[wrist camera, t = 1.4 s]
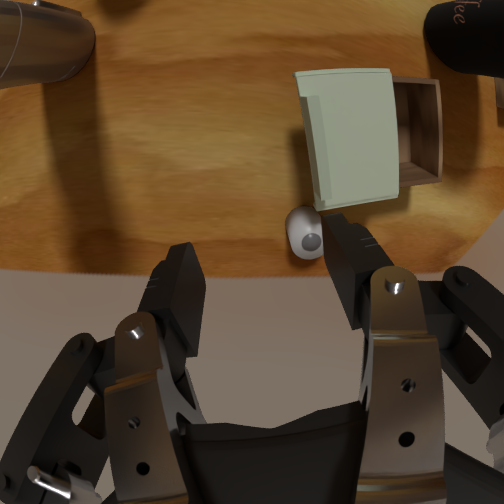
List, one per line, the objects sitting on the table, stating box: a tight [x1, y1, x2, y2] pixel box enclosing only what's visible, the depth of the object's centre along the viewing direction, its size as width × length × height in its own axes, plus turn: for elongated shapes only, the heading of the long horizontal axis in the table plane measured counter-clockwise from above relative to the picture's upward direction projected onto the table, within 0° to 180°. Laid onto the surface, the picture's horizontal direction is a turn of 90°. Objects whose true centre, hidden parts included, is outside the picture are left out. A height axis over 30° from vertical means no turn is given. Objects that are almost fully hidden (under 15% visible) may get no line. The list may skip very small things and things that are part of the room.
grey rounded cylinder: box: [285, 206, 324, 259], centre depth 34 cm, size 5×5×5 cm
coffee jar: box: [425, 0, 504, 79], centre depth 13 cm, size 11×11×18 cm
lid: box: [292, 68, 399, 211], centre depth 22 cm, size 14×9×4 cm
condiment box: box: [392, 76, 443, 188], centre depth 26 cm, size 12×9×7 cm
